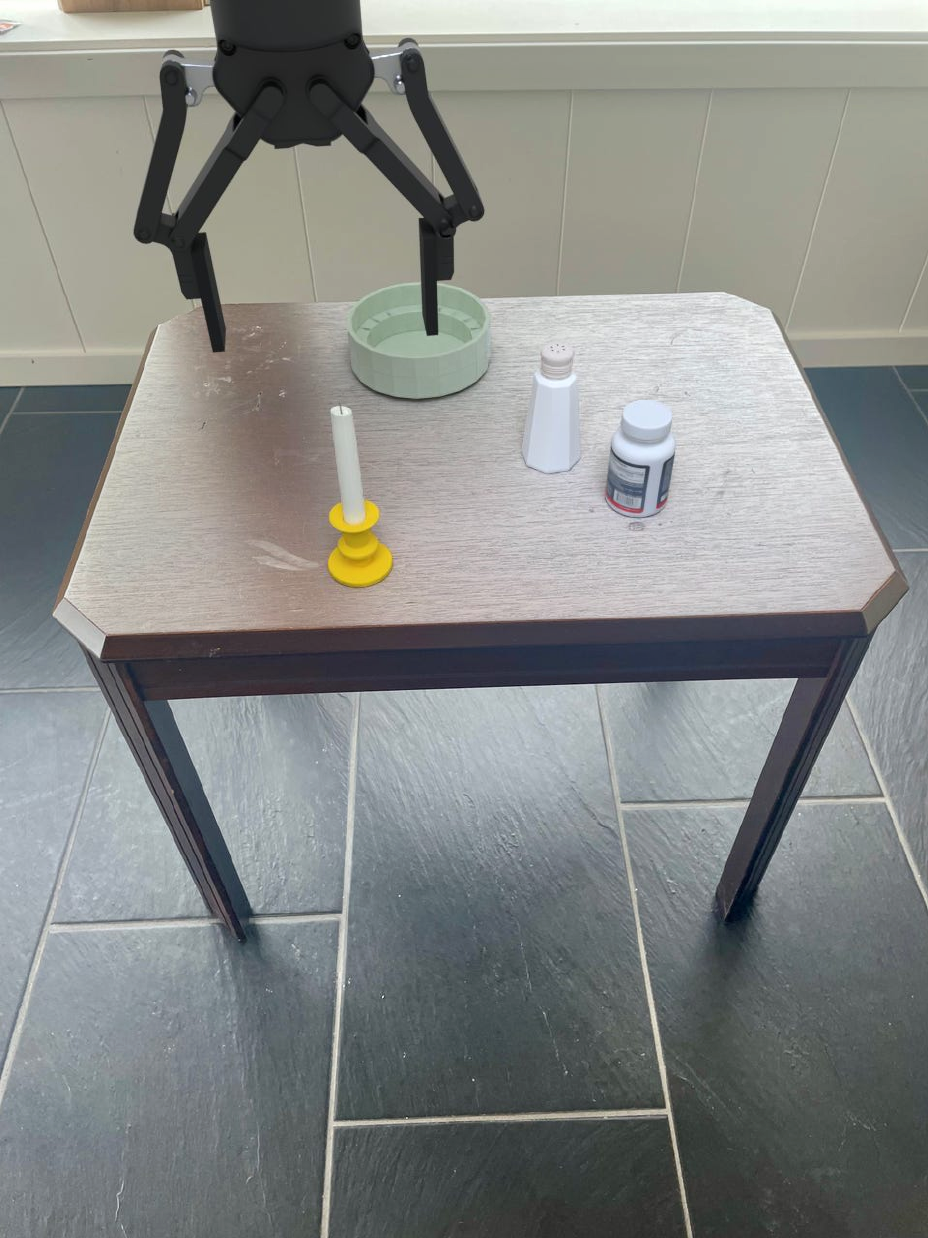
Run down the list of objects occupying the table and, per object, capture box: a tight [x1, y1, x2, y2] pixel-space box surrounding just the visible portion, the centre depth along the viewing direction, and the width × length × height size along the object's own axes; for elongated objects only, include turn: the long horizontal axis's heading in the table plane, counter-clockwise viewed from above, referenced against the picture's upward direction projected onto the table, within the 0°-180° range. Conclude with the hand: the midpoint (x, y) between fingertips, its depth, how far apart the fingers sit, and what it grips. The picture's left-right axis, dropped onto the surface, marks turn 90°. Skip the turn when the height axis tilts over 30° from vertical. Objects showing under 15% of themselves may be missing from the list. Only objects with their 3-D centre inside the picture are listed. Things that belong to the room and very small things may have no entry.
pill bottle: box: [605, 399, 677, 518], centre depth 80 cm, size 5×5×9 cm
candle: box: [327, 402, 394, 588], centre depth 72 cm, size 5×5×16 cm
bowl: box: [345, 281, 492, 400], centre depth 96 cm, size 14×14×5 cm
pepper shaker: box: [520, 340, 582, 475], centre depth 83 cm, size 5×5×11 cm
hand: (326, 333), depth 62 cm, fingers open, 13 cm apart
